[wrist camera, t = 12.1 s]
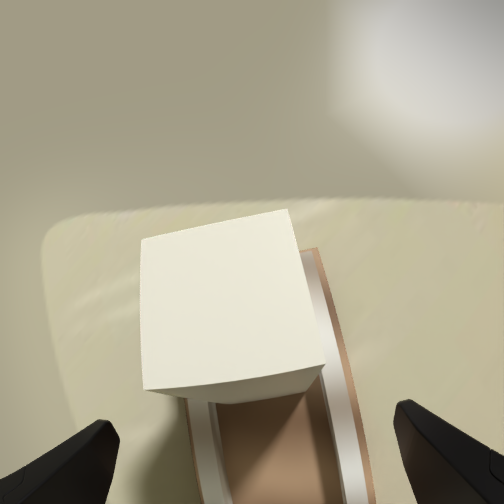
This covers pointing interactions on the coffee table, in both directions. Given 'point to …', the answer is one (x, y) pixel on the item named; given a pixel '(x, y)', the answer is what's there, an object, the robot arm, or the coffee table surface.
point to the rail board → (288, 431)
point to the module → (228, 312)
